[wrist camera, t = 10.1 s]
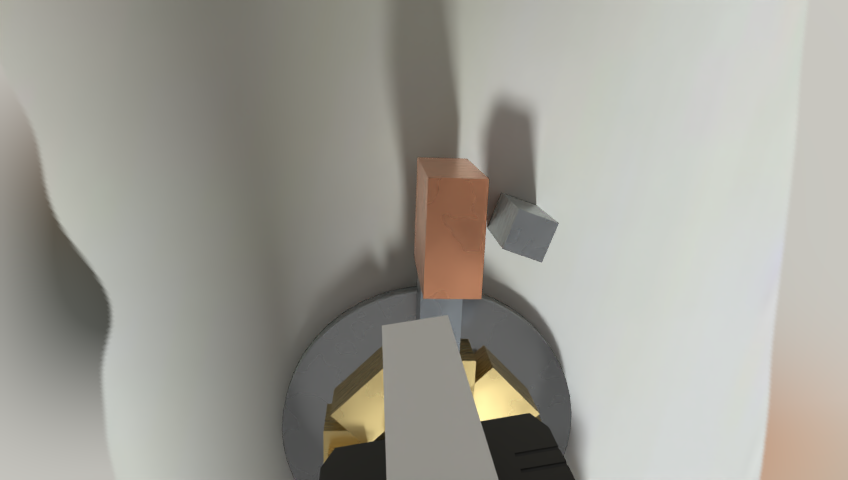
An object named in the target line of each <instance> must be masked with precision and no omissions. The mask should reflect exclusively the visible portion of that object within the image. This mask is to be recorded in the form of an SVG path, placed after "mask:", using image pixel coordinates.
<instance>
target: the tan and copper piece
mask: <svg viewBox="0 0 848 480" xmlns="http://www.w3.org/2000/svg"><path fill="white" fill-rule="evenodd" d="M488 189H489V178H488V177H486V176H485V175H484V174H483V173H482V172H481V171H480V170H479V169H478V168H477V167H475V166H474V165H473V164H472V163H471V162H470V161H469V160H468V159H460V158H423V157H417V186H416V215H415V244H414V259H415V263H416V268H417V299H416V320H419V319H426V318H432V317H438V316H444V315H448V317H449V321H450V324H451V327H452V330H453V334H454V337H455V340H456V343H457V347H458V350H459V353H460V356H461V360H462V363H463V366H464V369H465V372H466V376H467V379H468V382H469V385H470V389H471V392H472V395H473V398H474V402H475V405H476V408H477V411H478V415H479V418H480V421H485V420H490V419H496V418H502V417H508V416H514V415H520V414H526V413H530V414H532V415H533V416H534V417H536V418H537V419H539V420H540V421H541V419H540V417H539V414H540V413H539V411H538V409H537V407H536V405H535V403H534V401H533V399H532V397H531V395H530V393H529V391H528V389H527V388H526V387H525V386H524V385H523V384H522V383H521V382H520V381H519V380H518V379H517V378H516V377H515V376H514V375H513V374H512V373H511V372H510V371H509V370H508V369H507V368H506V367H505V366H504V365H503V364H502V363H501V362H500V361H499V360H498V359H497V358H496V357H495V356H494V355H493V354H492V353H491V352H490V351H489V350H488V349H487V348H486V347H485V346H484V345H483V346H482V347H481V348H480V349H479V350H478V351H476V352H475V353H474V354H473V351H472V348H471V345H470V342H469V340H468V339H460V337H461V319H462V302H463V299H481V297H482V281H483V266H484V250H485V235H486V220H487V204H488ZM541 422H542V421H541ZM384 431H385V414H384V381H383V349H382V346H381V347H380V348H379V349H378V350H377V351H376V352H375V353H374V354H373V355H371V356H370V357H369V358H368V359H367V360H366V361H365V362H364V363H363V364H361V365H360V366H359V367H358V368H357V369H356V370H355V371H354V372H353V373H351V374H350V375H349V376H348V377H347V378H346V379H345V380H344V381H343V382H341V383H340V384H339V385H338V386H337V387H336V388H335V389H334V393H333V401H332V404H327V409H326V416H325V423H324V430H323V453H324V462H325V461H326V460H327V458H328V457H329V455H330V454H331V453H332V451H333V450H334V448H336V447H342V446H348V445H354V444H360V443H366V442H372V441H374V440H375V439H376V438H377V437H379V436H380V435H381V434H382V433H383V432H384Z"/></svg>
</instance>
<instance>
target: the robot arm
mask: <svg viewBox="0 0 848 480" xmlns="http://www.w3.org/2000/svg"><path fill="white" fill-rule="evenodd" d="M382 349H383V381H384V414H385V439H384V440H378V441H372V442H366V443H360V444H354V445H348V446H342V447H336V448H334V450H333V451H332V453H331V454H330V455H329V457H328V458H327V460H326V461H325V462H324V464H323V465H322V467H321V470H320V477H319V480H575V479H574V477H573V475H572V473H571V471H570V469H569V467H568V465H567V464H566V461H565V458H564V456H563V454H562V452H561V450H560V449H559V448H558V444H557V442H556V440H555V438H554V436H553V434H552V432H551V430H550V428H549V427H548V426H547V425H545V424H544V423H543V422H541V421H540V420H539V419H537V418H536V417H534V416H533V415H532V414H530V413H526V414H520V415H514V416H508V417H502V418H496V419H490V420H485V421H480V418H479V415H478V411H477V408H476V405H475V402H474V398H473V395H472V392H471V389H470V385H469V382H468V379H467V376H466V372H465V369H464V366H463V363H462V360H461V356H460V353H459V350H458V347H457V343H456V340H455V337H454V334H453V330H452V327H451V324H450V321H449V317H448V315H444V316H438V317H432V318H426V319H419V320H413V321H407V322H401V323H395V324H388V325H382Z"/></svg>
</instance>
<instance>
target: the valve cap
mask: <svg viewBox="0 0 848 480" xmlns="http://www.w3.org/2000/svg"><path fill="white" fill-rule="evenodd" d="M416 299H417V286H415V287H409V288H403V289H397V290H393V291H390V292H387V293H383V294H380V295H377V296H375V297H372V298H370V299H368V300H365V301H363V302H361V303H359V304H357V305H356V306H354V307H352V308H351V309H349V310H347V311H345V312H344V313H342V314H341V315H340V316H339V317H337V318H336V319H335V320H334V321H332V322H331V323H330V324H328V325H327V326H326V327H325V329H324V330H323V331H322V332H321V333H320V334H319V335H318V336H317V337H316V338H315V339H314V340H313V342H312V343H311V344H310V346H309V347H308V348H307V350H306V351H305V352H304V354H303V356H302V358H301V360H300V361H299V363H298V365H297V367H296V369H295V372H294V374H293V377H292V380H291V382H290V385H289V389H288V392H287V397H286V401H285V406H284V410H283V424H282V432H283V444H284V449H285V453H286V457H287V462H288V464H289V467H290V469H291V472H292V474H293V477H294V478H295V480H319V477H320V470H321V467H322V465H323V464H324V453H323V430H324V423H325V416H326V409H327V404H332V401H333V393H334V389H335V388H336V387H337V386H338V385H339V384H340V383H341V382H343V381H344V380H345V379H346V378H347V377H348V376H349V375H350V374H351V373H353V372H354V371H355V370H356V369H357V368H358V367H359V366H360V365H361V364H363V363H364V362H365V361H366V360H367V359H368V358H369V357H370V356H371V355H373V354H374V353H375V352H376V351H377V350H378V349H379V348H380V347H381V346H382V325H388V324H395V323H401V322H407V321H413V320H416ZM460 339H468V340H469V342H470V345H471V348H472V351H473V354H474V353H475V352H476V351H478V350H479V349H480V348H481V347H482V346H483V345H484V346H485V347H486V348H487V349H488V350H489V351H490V352H491V353H492V354H493V355H494V356H495V357H496V358H497V359H498V360H499V361H500V362H501V363H502V364H503V365H504V366H505V367H506V368H507V369H508V370H509V371H510V372H511V373H512V374H513V375H514V376H515V377H516V378H517V379H518V380H519V381H520V382H521V383H522V384H523V385H524V386H525V387H526V388H527V389H528V391H529V393H530V395H531V397H532V399H533V401H534V403H535V405H536V407H537V409H538V411H539V413H540V414H539V417H540V419H541V421H542V422H543V423H544V424H545V425H547V426H548V427H549V428H550V430H551V432H552V434H553V436H554V438H555V440H556V442H557V444H558V448H559V449H560V450H561V452H562V454H563V456H564V453H565V450H566V447H567V443H568V438H569V433H570V427H571V403H570V395H569V390H568V386H567V382H566V379H565V376H564V374H563V371H562V369H561V366H560V364H559V362H558V360H557V359H556V357H555V355H554V354H553V352H552V350H551V349H550V347H549V346H548V344H547V342H546V341H545V340H544V338H543V337H542V336H541V335H540V334H539V332H538V331H537V330H536V329H535V328H534V327H533V326H532V325H531V324H530V323H529V322H528V321H527V320H526V319H525V318H524V317H523V316H521V315H520V314H519V313H517V312H516V311H514V310H513V309H511V308H510V307H509V306H507V305H505V304H503V303H501V302H499V301H497V300H495V299H493V298H491V297H489V296H486V295H483V294H482V297H481V299H463V302H462V319H461V337H460ZM384 439H385V431H384V432H383V433H382V434H381V435H380V436H379V437H377V438H376V439H375V440H374V441H378V440H384Z"/></svg>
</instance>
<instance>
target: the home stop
mask: <svg viewBox="0 0 848 480" xmlns="http://www.w3.org/2000/svg"><path fill="white" fill-rule="evenodd" d="M558 224H559V223H558V222H557V221H555V220H554V219H553V218H552V217H550V216H549V215H548V214H547V213H545V212H544V211H543V210H542V209H541V208H539V207H538V206H537V205H534V204H532V203H529V202H526V201H523V200H521V199H518V198H515V197H512V196H510V195H507V194H504V193H501V196H500V198H499V201H498V203H497V205H496V208H495V210H494V213H493V215H492V218H491V220H490V223H489V225H488V230H489V231H490V232H491V234H492V235H493V236H494V238H495V239H496V240H497V242H498V243H499V245H500V246H501V247H502V249H505V250H507V251H510V252H513V253H516V254H519V255H522V256H525V257H528V258H531V259H533V260H536V261H539V262H542V261H543V258H544V256H545V254H546V251H547V249H548V247H549V245H550V242H551V240H552V238H553V235H554V233H555V231H556V228H557V226H558Z"/></svg>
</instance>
